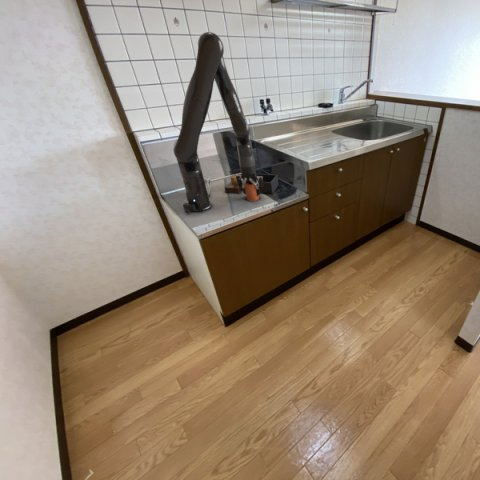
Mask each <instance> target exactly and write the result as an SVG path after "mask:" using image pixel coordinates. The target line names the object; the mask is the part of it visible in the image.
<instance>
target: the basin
mask: <svg viewBox="0 0 480 480" xmlns="http://www.w3.org/2000/svg"><path fill="white" fill-rule="evenodd" d="M256 174H257V176H260V177H261V176H263V187H262V188H260V192H261V193H260V194H267V195H268V194H270V195H272V194H274V192H275V191H276V189H277V188H278V187H279V185H280V184H279V176H278V174H271V173H257V172H256ZM256 180H257V181H258V179H256ZM258 184H259V181H258Z"/></svg>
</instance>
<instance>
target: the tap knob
mask: <svg viewBox="0 0 480 480" xmlns="http://www.w3.org/2000/svg"><path fill="white" fill-rule="evenodd" d="M237 175H238V174H232V175H230V176H229V178H230V182H231V183H232V185H238V182H237V179H236V176H237Z"/></svg>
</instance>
